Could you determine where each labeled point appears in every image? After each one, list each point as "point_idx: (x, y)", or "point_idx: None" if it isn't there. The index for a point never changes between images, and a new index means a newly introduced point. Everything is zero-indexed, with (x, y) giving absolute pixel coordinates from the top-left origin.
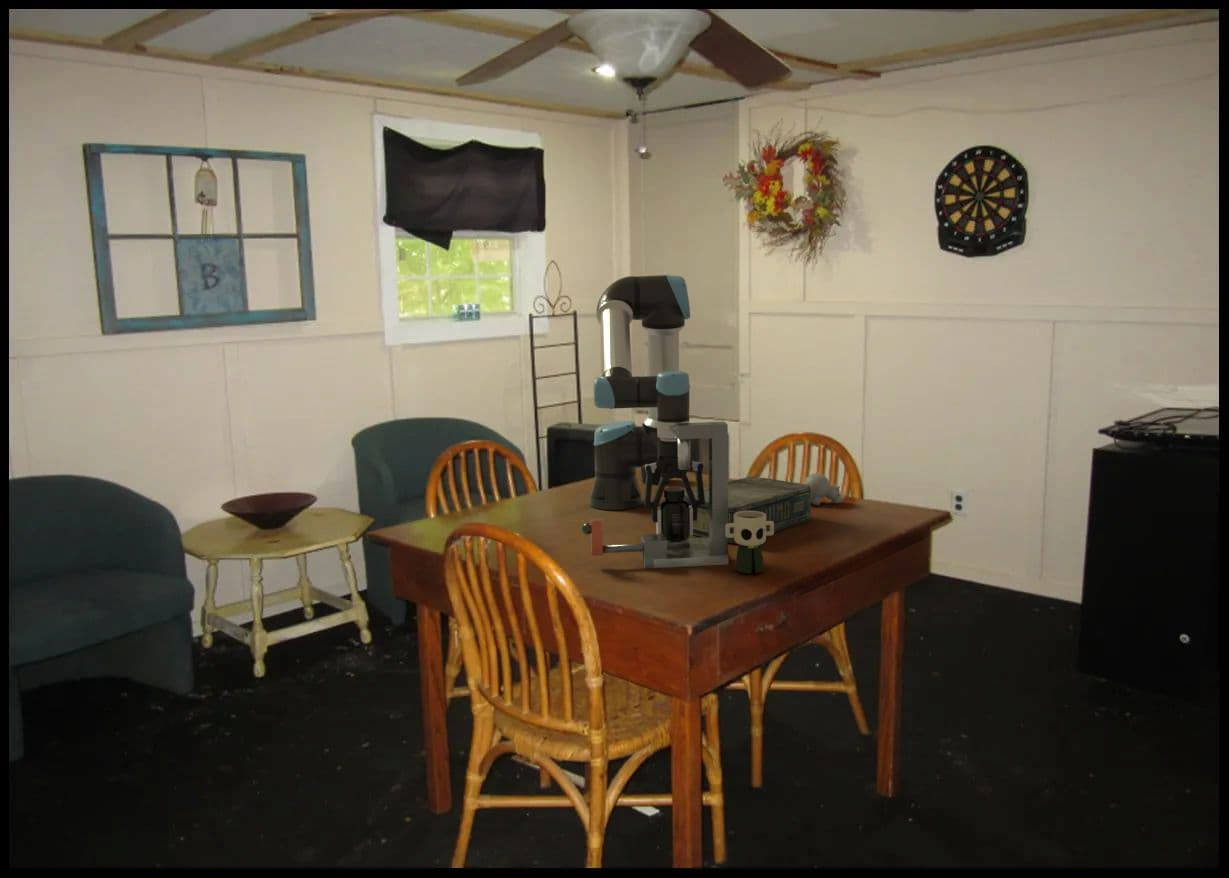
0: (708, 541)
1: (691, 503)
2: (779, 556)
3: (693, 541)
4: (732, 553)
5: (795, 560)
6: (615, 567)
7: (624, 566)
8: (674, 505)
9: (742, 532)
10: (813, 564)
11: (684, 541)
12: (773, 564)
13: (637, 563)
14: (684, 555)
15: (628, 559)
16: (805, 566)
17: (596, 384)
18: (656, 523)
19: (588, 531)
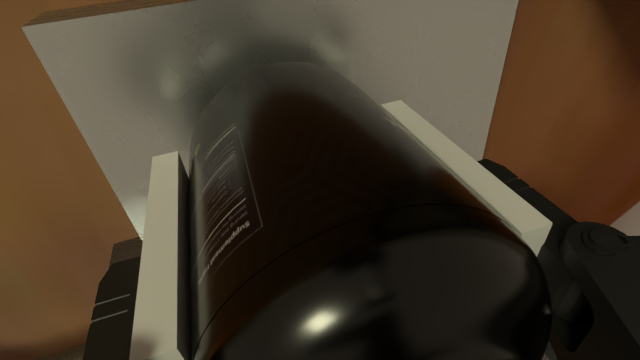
0: (462, 60)
1: (551, 336)
2: (617, 127)
3: (386, 61)
4: (506, 102)
5: (625, 162)
6: (14, 330)
7: (53, 313)
8: None
9: None
10: (636, 188)
11: (335, 61)
12: (556, 203)
13: (103, 273)
14: None
15: (26, 234)
16: (610, 205)
17: None
18: (147, 212)
19: None
